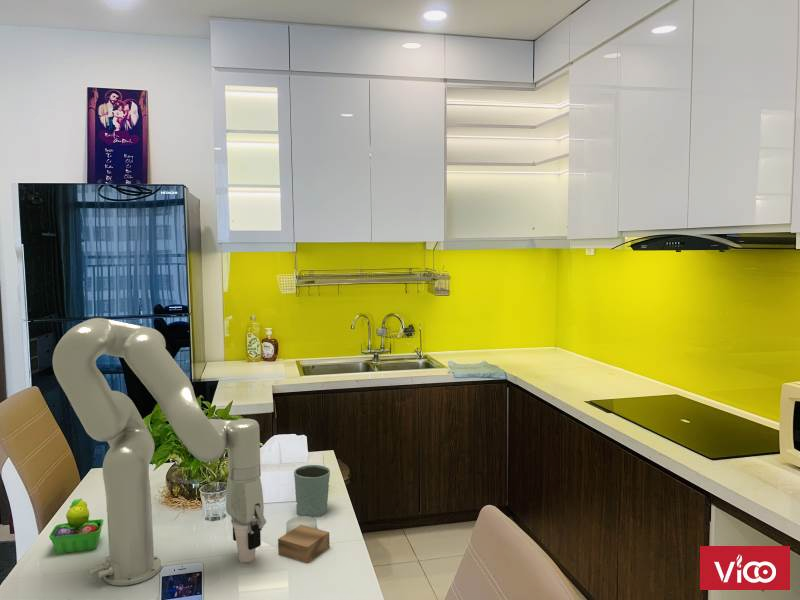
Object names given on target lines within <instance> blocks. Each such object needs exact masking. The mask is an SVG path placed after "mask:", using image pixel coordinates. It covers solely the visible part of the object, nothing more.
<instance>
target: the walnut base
mask: <svg viewBox="0 0 800 600" xmlns="http://www.w3.org/2000/svg"><path fill="white" fill-rule="evenodd" d="M277 547H278V548H277V550H278V551H277V552H278V555H279V556H282V557H286V558H289V559H292V560H296V561H299V562H302V563H305V564H309V563H310V562H312V561H313V560H314V559H316V558H317V557H319V556H320V555H321V554H323V553H324V552H325V551H327V550H328V549H330V547H331V546H330V532H329V531H327V530H322V529H319V528H317V529H315V528H312V527H308V526H304V525H299V526H298V527H296V528H295V529H293V530H291V531H290V532H288V533H285V534H283V535H282V536H280V537H279V538H278V539H277Z"/></svg>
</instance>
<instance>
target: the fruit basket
mask: <svg viewBox="0 0 800 600" xmlns="http://www.w3.org/2000/svg"><path fill="white" fill-rule="evenodd" d="M65 517H66V520H67V523H66V522H65V523H60V524H57V525H55V526H54V528H53V529H52V531H51V532H50V534H49V539H50V541H51V543H52V545H53V548H54V550H55V553H56V555H59V554H64V553H75V552H81V551H87V550H88V551H89V550H96V549H97V546H98V543H99V542H100V538H101V533H102V527H103V524H104V519H102V518H100V519H91V520H90V519H89V518H90V511H89V509H88V503H87V502H86V501H85V500H83V498H78V499H77V498H75V499H74V500H73V501H72V502H71V504H70V505H69V509H68V510H67V512H66V514H65Z"/></svg>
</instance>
